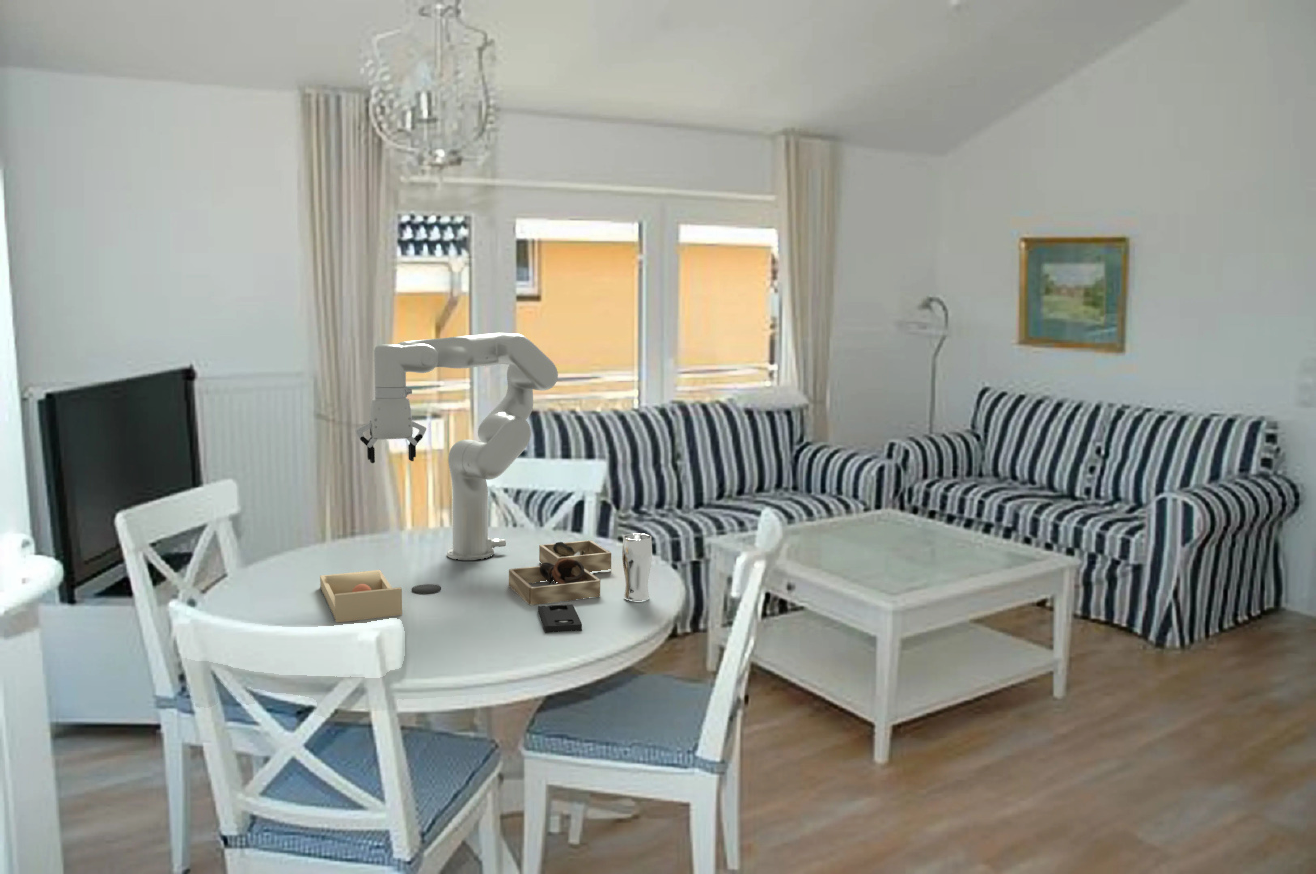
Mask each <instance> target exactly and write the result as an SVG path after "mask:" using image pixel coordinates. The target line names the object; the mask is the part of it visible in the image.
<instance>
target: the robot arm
mask: <svg viewBox="0 0 1316 874" xmlns="http://www.w3.org/2000/svg"><path fill="white" fill-rule="evenodd" d="M373 353H374V354H373V358H374V360H373V361H374V363H373V364H374V398H372V399H371V402H370V409H369V421H368V422H366V424H364V425H361V426H360V427H357V428H356V429H355V434H356V435H357V437H358V438H359V440H360V441H361V442H362V443H363V444H364V445H365V446H366V447H367V449H366V451H367V460H369V462H370V463H371V464H375V462H376V457H375V456H376V455H375V454H376V452H375V451H376V450H375V447H374V444H375V443H376V442H377V441H379V440H380V441H381V440H402V439H403V440H404V439H406V440H407V441H408V442H409V444H408V447H407V448H408V449H407V450H408V460H409V461H411V462H415V461H414V460H415V458H416V457H417V454H416V453H417V447H416V446H417V445H418V443H419V442H420V441H421V440H422V439H423V438H424V436H425V434H426V431H427V427H426V426H423V425H422V424H419V423H417V422H415V421H414V420H413V417H412V409H411V404H410V400H409V398H407V397H408V396H409V395H412V394H413V388H408V387H407V373H416V374H425V373H429V372H431V371H433V370H435V369H436V368H445V369H446V368H447V369H472V368H478V367H486V366H487V367H488V366H496V365H497V366H498V365H508V368H507V370H506V380H507V381H506V382H507V389H506V393H505V396H504V398H502V400H501V401H500V402H499V404H498V405H496V407H495V408H494V409H493V410H492V411H491V412H490V413H489V414H488V415H487V416H486V417H485V418H484V419H483V420H482V421H481V423H480V424H479V426H478V428H477V436H478V439H479V441H478V440H475V439H462V440H459V441H457V442H455V443H454V444H453V445H452V446H451V448H450V449H449V452H448V459H447V461H448V468H449V473H450V478H451V489H452V490H451V497H452V499H451V500H452V501H451V502H452V504H451V505H452V507H451V509H452V510H451V511H452V513H451V514H452V515H451V516H452V548H449V549H448V550H447V551H446V556H447V557H448V558H449V559H453V560H456V559H458V560H457V561H474V560H473V559H481V560H485V559H484V558H486V559H488V558H487V557H489V558H491V557H492V556H491V555H493V554H494V555H495V550H494V549H495V548H496V547H497V548H500V547H501V548H502V547H506V543H507V542H506V539H505V538H504V539H499V538H494V539H493V538H491V537H489V489H488V488H489V486H488V483H487V480H489V481H490V480H495V479H496V478H498V477H500V476H501V475H502V474H503V473H504V472H506V471H507V470H508V468H510V466H511V465H512V464H513V463H514V462H515V460H516V459H517V458H519V456H520V455H521V454H522V453H523V452H524V450H525V449H526V448H527V447H528V444H529V443H530V440H531V436H532V428H531V426H530V424H529V422H528V421H527V419H528V418H529V417H530V415H531V414H532V411H533V407H534V391H548V390H551V389H552V388H553V387H555V385H556V383H557V381H558V378H559V373H558V369H557V367H556V365H555V363H554V362H553V361H552V360H551V359H550V358H549V357H548V356H547V355H546V354H545V353H544V352H543V351H542V350H541V349H540V348H539V347H538V346H537V345H536V344H535V343H533V342H532V341H531V340H530V339H529V338H527V337H526V336H525V335H523V334H520V333H512V332H511V333H509V332H493V333H491V332H490V333H482V334H473V335H471V334H470V335H460V336H449V337H444V338H431V339H419V340H406V341H401V342H400V341H399V343H397V344H396V343H393V344H392V343H384V344H377V345H376V346H375V347H374V349H373ZM413 428H415V429H417V430H418V432H417V434H416V435H415V436H414V437H413V432H414V431H413V430H414V429H413ZM366 431H369V435H370V437H369V438H368V439H367V438H366V436H365V435H364V432H366ZM494 555H493V556H494ZM490 556H491V557H490Z"/></svg>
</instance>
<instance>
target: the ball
mask: <svg viewBox="0 0 1316 874" xmlns="http://www.w3.org/2000/svg"><path fill="white" fill-rule="evenodd" d="M369 590H371V588H370V587H369V586H368V585H366V584H359V585H357V586H355V587H354V588H353V590H352V592H359V591H369Z"/></svg>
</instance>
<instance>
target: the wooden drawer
mask: <svg viewBox="0 0 1316 874" xmlns="http://www.w3.org/2000/svg"><path fill="white" fill-rule="evenodd" d="M319 578H320V579H319V582H320V584H319V585H320V589H321V592H322V594H324V595H323V597H324V599H325V601H326V603H327V605H328V608H329V610H330V612H331V614H332V617H333V619H334V621H335V623H336V624H337V623H343V622H353V621H363V620H371V619H378V618H379V619H380V618H387V617H396V616H402V615H403V595H402V594H403V593H402V592H403V591H402V587H400V586H399V587H392V585H391V583H390V582H389V581H388V579H387V578H386V576H385V575H384V574H383V572H382V571H381V570H380V569H375V570H374V569H373V570H367V571H366V570H365V571H354V572H345V573H334V574H324V575H323V574H322V575H319ZM359 584H366V585H368V586H369V587H370V588H371V590H369V591H359V592H352V590H353V588H354V587H355V586H357V585H359Z"/></svg>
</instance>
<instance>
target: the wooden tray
mask: <svg viewBox="0 0 1316 874" xmlns="http://www.w3.org/2000/svg"><path fill="white" fill-rule="evenodd" d="M556 543H557V542H555V543H546V544H539V549H538V551H539V552H538V553H539V554H538V555H539V556H538V557H539V559H538V560H539V561H540V562H541V563H545V562H548V563H551V564H554V565H555V564H556V563H557V562H558V561H559V560H561V559H574V560H577V561H579V562H580V563H581V564H582V565H583V567H584V569H586V570H587V571H589V572H592V571H601V570H608V569H611V570H612V552H611V551H609V550H608V549H606V548H604V547H602V546H601V545H599V544H598V543H596V542H595V541H593V540H590V539H589V540H579V541H578V540H577V541H568V542H567V541H565V542H563V543H564V544H565V545H567V546H569V547H571V548H572V549H573V550H574V554H576V553H577V552H578V551H579V552H580V555H577V556H566V557H564V556H561V555H559V554H557V553H555V551H554V550H553V547H554V544H556ZM585 549H587V550H586V554H585V555H581V552H582V551H585Z"/></svg>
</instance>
